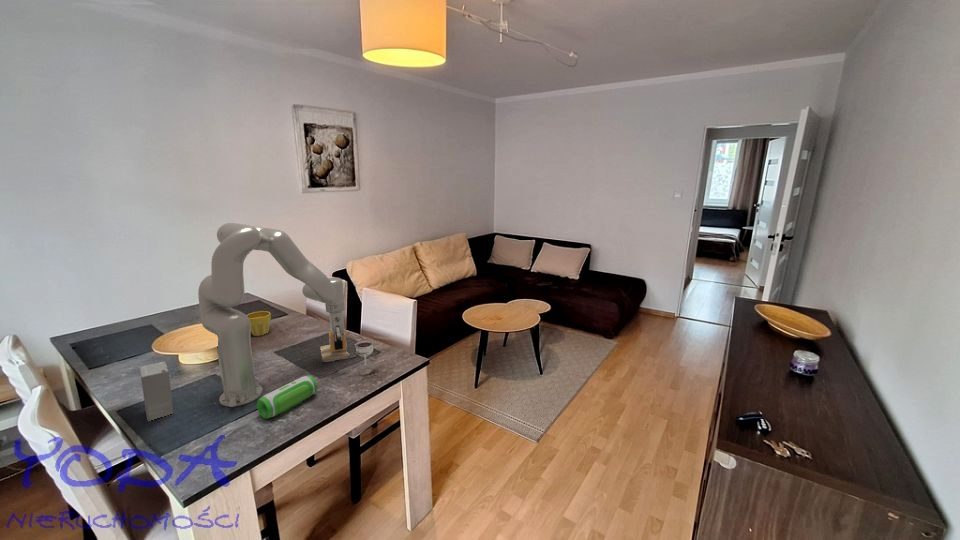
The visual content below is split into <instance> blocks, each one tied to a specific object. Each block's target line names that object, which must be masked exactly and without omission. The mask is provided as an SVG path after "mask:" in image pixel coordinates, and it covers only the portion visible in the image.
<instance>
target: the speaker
mask: <svg viewBox="0 0 960 540" xmlns="http://www.w3.org/2000/svg"><path fill="white" fill-rule="evenodd" d="M317 391H318V384H317V381H316V379H315V378H314V377H313V376H312V375H305V376H301V377H299V378H297V379H295V380H292V381H291V382H288V383H287V384H285V385H283V386H281V387H280V386H279V388H277V389H275V390H273V391H271V392H269V393H266V394H263V396H262V397H260V398H259V399H258V400H257V402H256V409H257V412H258V414H259V415H260V416H261V417H262V418H263V419H270V418H273V417H275V416H276V417H277V416H278V415H280V414H283V413H284V411H285V412H286V411H288V410H290V409H291V407H292V408H293V406H294V407H295V406H297V405H299V404H301V403H302V402H301V401H303V400H304V401H306V400H307V399H308V398H311V396H313V395H314V394H316V392H317ZM304 401H303V402H304ZM300 402H301V403H300ZM298 403H299V404H298ZM296 404H297V405H296ZM282 412H283V413H282Z"/></svg>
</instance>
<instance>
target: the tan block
mask: <svg viewBox="0 0 960 540" xmlns="http://www.w3.org/2000/svg"><path fill="white" fill-rule="evenodd" d="M335 334H337V333H335ZM341 335H342V341H343V349H339V350H335V344H334V341H335V336H334V335H333V333H332V330H330V331H328V339H329V342H328V343H329V345H330V349H331V352H336V351H342V350H347V342H348V341H347V334H346V332H345V333H344V334H342V333H341ZM336 337H337V335H336Z"/></svg>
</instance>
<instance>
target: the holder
mask: <svg viewBox="0 0 960 540" xmlns="http://www.w3.org/2000/svg"><path fill="white" fill-rule="evenodd" d="M319 349H320V350H321V351H320V355H321V356H322V357H321V362H322V361H326V360H332V359H336V358H340V357H345V356H349V355H350V354H349V353H348V352H347V351H346V352H345V351H344V350H342V351H336V352H331V349H330V344H325V345H321V346H319Z"/></svg>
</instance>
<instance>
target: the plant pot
mask: <svg viewBox="0 0 960 540" xmlns="http://www.w3.org/2000/svg"><path fill="white" fill-rule="evenodd" d="M245 315H246V316H247V317H248V318H249V320H250V322H251V334H252V335H253V336H254V337H261V336H260V335H262V336H265V335H267V334H268V333H269V330H270V329H269V328H270V321H271V320H272V317H271V316H272V314H271V312H270V311H264V310H261V311H260V310H259V311H254V312H251V313H248V314H245ZM266 333H267V334H266ZM264 334H265V335H264Z"/></svg>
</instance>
